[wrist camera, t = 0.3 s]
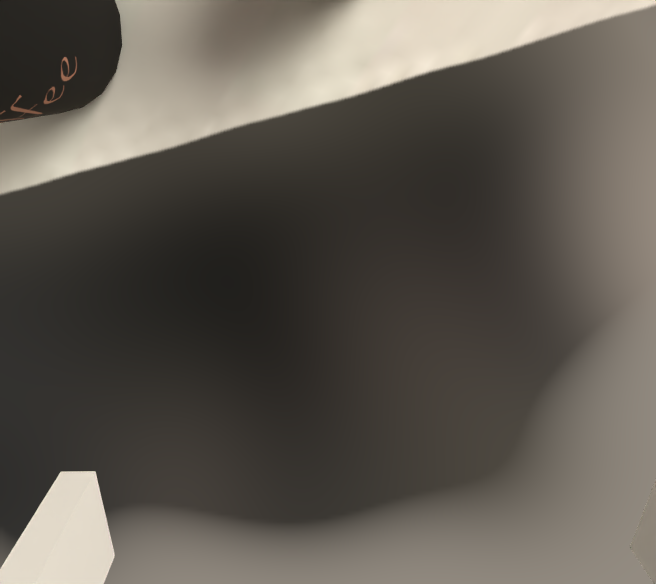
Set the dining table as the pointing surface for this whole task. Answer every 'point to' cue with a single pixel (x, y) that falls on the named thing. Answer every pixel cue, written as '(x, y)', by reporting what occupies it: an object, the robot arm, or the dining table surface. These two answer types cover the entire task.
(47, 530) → the robot arm
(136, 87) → the dining table surface
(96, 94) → the coffee jar
